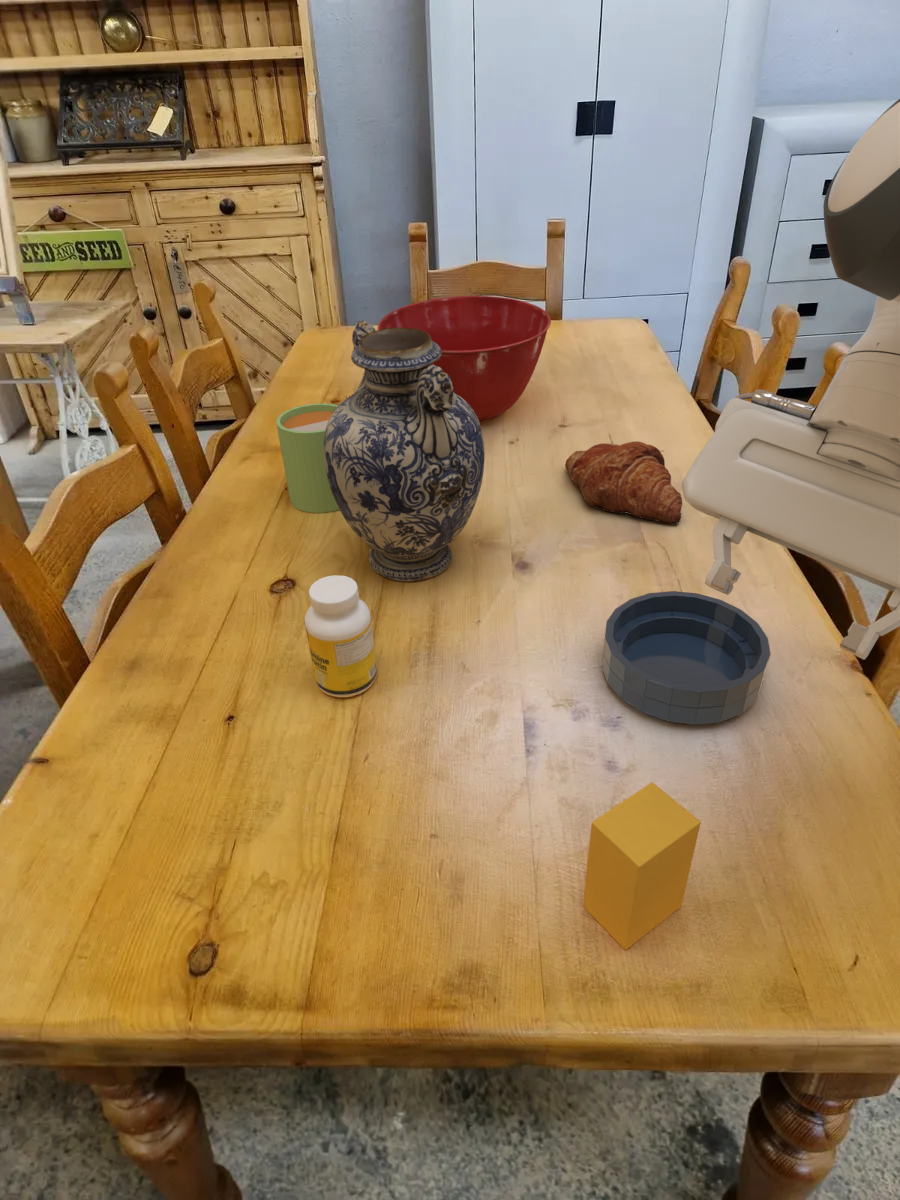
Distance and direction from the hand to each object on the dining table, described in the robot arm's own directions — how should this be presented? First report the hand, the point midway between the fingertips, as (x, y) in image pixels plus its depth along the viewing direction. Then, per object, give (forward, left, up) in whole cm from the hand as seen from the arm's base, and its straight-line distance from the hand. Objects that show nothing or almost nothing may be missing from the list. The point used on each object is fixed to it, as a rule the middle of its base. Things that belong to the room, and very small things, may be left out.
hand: (780, 620), depth 52 cm
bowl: (+19, -3, -22) cm, 30 cm away
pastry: (+57, -7, -22) cm, 62 cm away
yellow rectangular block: (-6, +9, -22) cm, 25 cm away
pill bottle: (+23, +31, -22) cm, 45 cm away
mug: (+65, +35, -22) cm, 78 cm away
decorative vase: (+45, +23, -22) cm, 56 cm away
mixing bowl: (+92, +11, -22) cm, 96 cm away
